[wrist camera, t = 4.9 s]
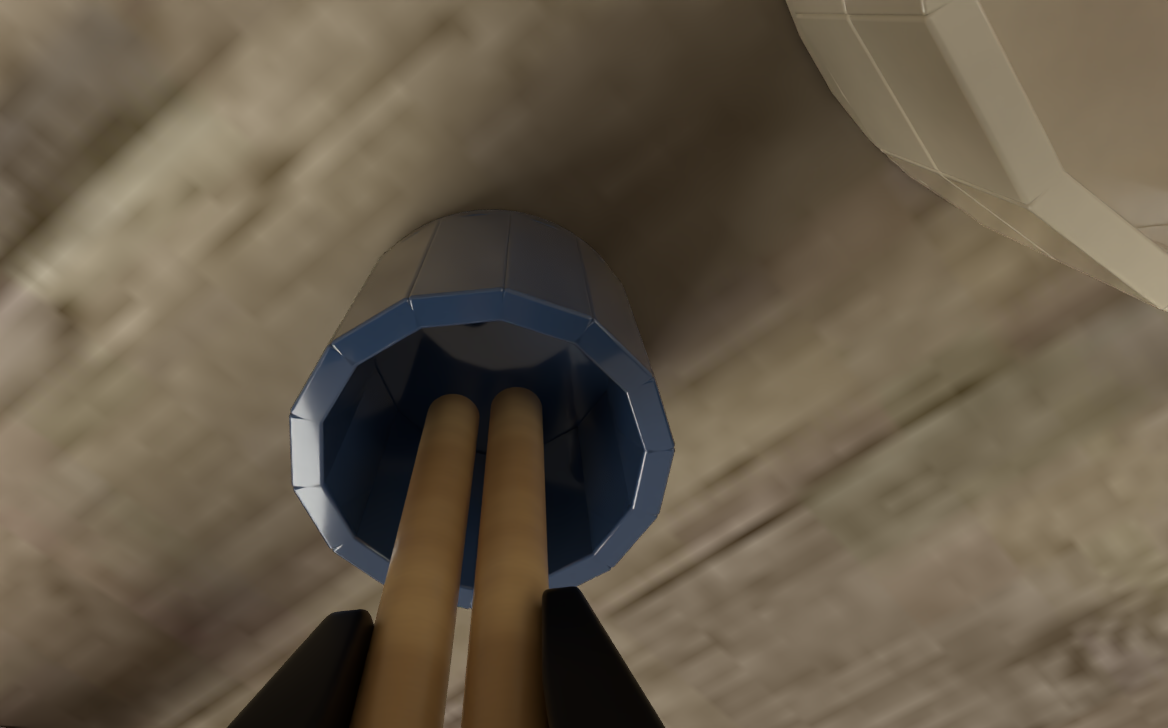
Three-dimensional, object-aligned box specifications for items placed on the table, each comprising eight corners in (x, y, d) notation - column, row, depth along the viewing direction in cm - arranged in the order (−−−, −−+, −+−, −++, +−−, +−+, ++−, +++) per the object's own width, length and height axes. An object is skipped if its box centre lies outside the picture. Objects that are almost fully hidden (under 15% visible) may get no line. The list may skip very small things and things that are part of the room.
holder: (641, 445, 16) (678, 588, 12) (383, 472, 16) (335, 626, 12) (629, 195, 14) (672, 271, 10) (321, 223, 13) (235, 313, 9)
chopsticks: (550, 428, 13) (629, 1893, 3) (427, 441, 13) (69, 1983, 3) (545, 380, 12) (616, 1912, 2) (417, 393, 12) (-54, 2027, 2)
